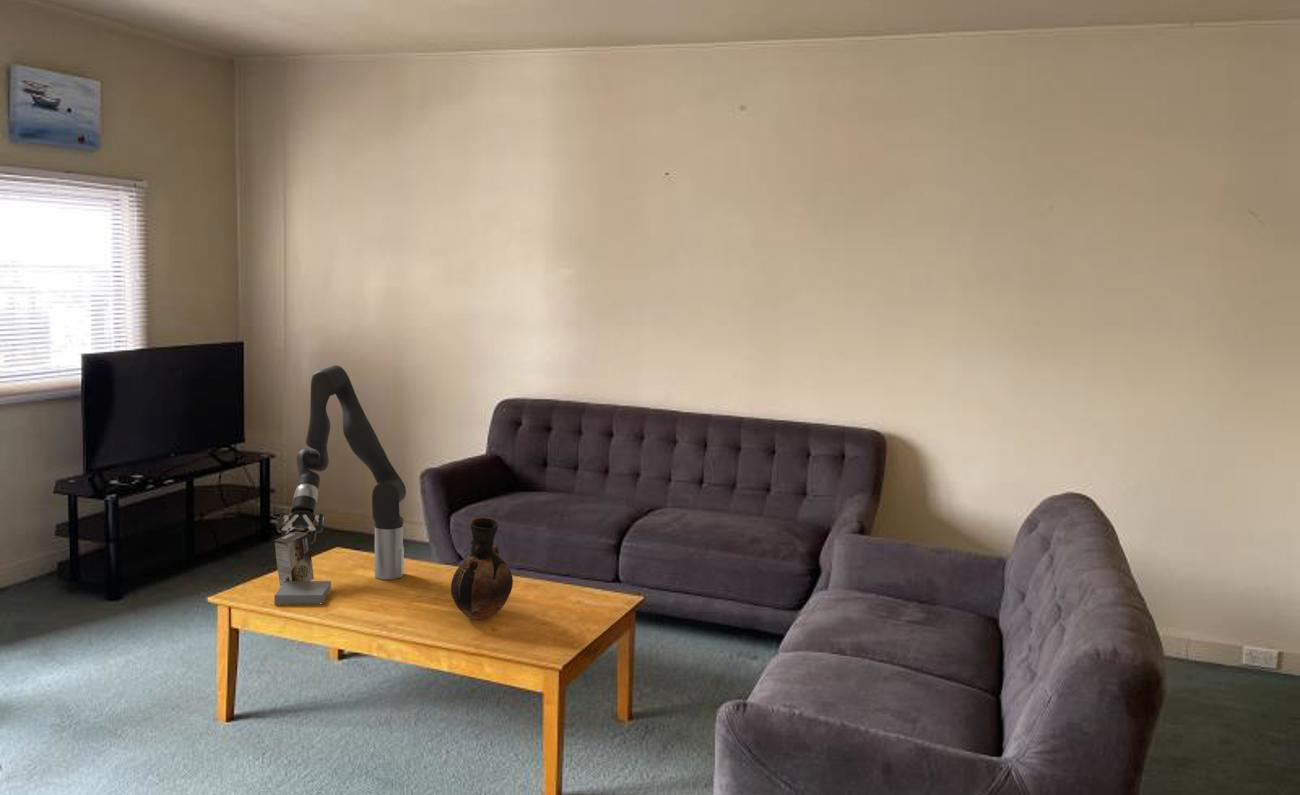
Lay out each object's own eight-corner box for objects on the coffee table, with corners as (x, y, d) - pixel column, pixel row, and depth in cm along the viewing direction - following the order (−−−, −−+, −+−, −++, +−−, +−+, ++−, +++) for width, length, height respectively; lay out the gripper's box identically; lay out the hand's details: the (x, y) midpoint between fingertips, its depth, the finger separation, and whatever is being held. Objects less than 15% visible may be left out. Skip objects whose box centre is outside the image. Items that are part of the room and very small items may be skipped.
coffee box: (300, 576, 321) (295, 530, 317) (314, 579, 318) (309, 533, 315) (278, 586, 313) (273, 539, 310) (293, 590, 310) (287, 542, 307)
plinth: (331, 590, 311) (331, 581, 311) (322, 604, 298) (321, 594, 297) (285, 590, 310) (285, 581, 309) (274, 604, 296) (274, 595, 296)
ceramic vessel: (474, 601, 305) (476, 508, 302) (524, 610, 299) (526, 515, 295) (437, 622, 285) (438, 523, 282) (489, 632, 279) (490, 530, 276)
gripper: (281, 494, 321) (272, 536, 311) (325, 494, 323) (318, 537, 313) (285, 506, 327) (276, 548, 317) (328, 506, 329) (321, 548, 319)
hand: (297, 542), depth 315 cm, fingers open, 8 cm apart
